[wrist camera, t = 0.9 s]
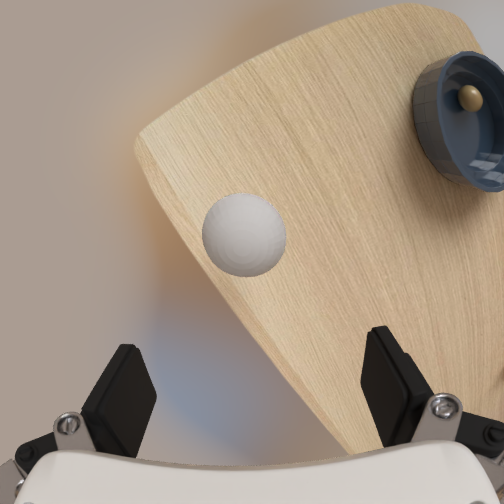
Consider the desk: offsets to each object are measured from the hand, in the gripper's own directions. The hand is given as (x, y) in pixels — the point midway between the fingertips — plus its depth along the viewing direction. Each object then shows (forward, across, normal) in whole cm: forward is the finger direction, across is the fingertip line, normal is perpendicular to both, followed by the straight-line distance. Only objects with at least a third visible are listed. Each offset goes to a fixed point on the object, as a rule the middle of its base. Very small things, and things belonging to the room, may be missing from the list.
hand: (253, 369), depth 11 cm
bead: (+21, -28, -15) cm, 39 cm away
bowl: (+24, -28, -12) cm, 39 cm away
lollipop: (+24, +1, -2) cm, 24 cm away
